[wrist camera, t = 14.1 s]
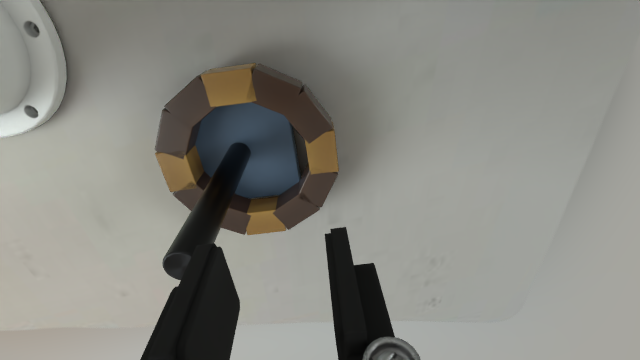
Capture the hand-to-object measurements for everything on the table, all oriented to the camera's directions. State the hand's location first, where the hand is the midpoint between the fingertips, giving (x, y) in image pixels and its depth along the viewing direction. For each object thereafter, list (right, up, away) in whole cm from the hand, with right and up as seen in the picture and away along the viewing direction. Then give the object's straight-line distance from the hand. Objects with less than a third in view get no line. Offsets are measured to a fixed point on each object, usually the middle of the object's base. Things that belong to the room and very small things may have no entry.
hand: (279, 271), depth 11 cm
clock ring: (-3, +5, +12) cm, 14 cm away
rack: (-4, +6, +13) cm, 15 cm away
